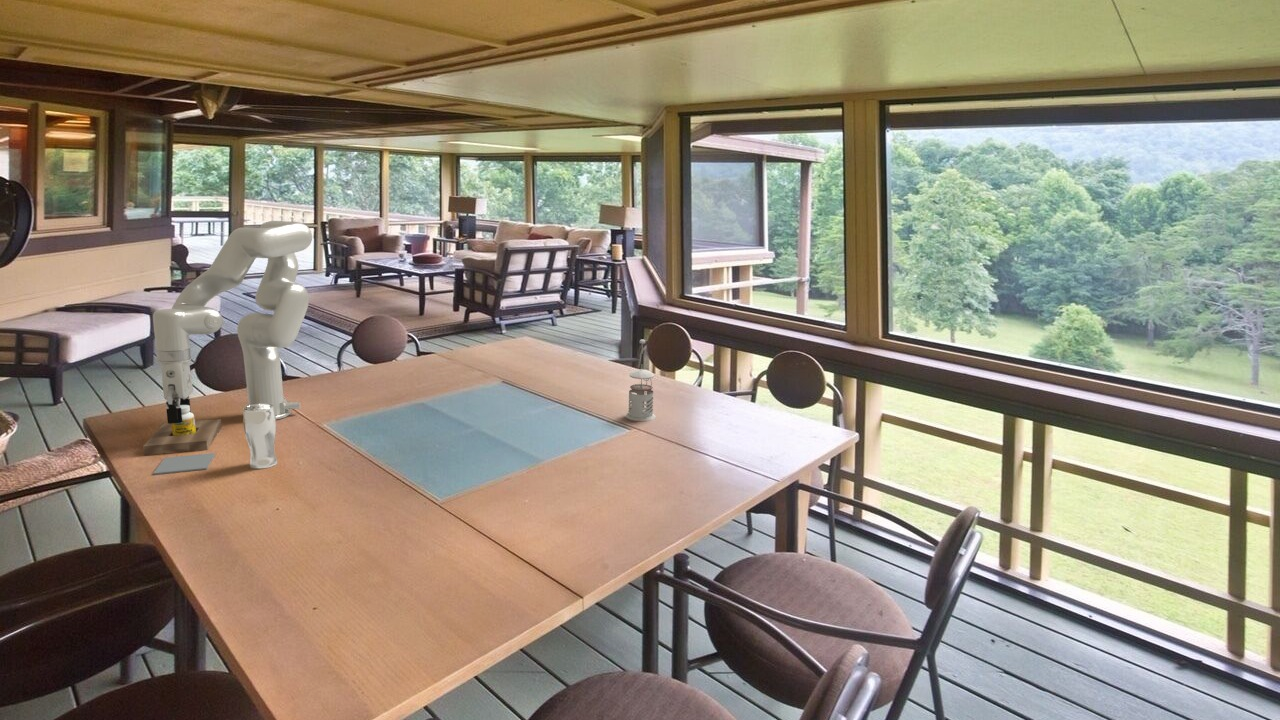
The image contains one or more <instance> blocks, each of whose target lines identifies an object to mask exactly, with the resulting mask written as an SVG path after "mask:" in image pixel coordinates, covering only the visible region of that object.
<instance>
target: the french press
mask: <svg viewBox="0 0 1280 720" xmlns="http://www.w3.org/2000/svg"><path fill="white" fill-rule="evenodd" d="M639 344H641V353H643V352H644V351H643V349H644V348H643V345H644V344H646V340H645V339H640V340H639ZM628 376H629V378H632V379H638V380H640V383H637V384H632V385H630V386H629V388H630V389H629V390H628V412H627V413H626V414H625V418H626V419H628V420H631V421H635V422H648V421H653V420H655V419H656V418H657V416H656V415H655V414H654V391H653V390H652V389H653V382H652V379H653V378H654V377H655V376H656V375H655V374H654V373H653V372H651V371H650V370H648V369H643V365H641V367H640V369H636V370H633V371H630V372H629V373H628ZM649 379H650V384H648V381H649ZM643 380H644V381H645V382H646V383H645V384H643V383H642V382H643Z"/></svg>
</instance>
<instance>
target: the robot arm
mask: <svg viewBox="0 0 1280 720" xmlns="http://www.w3.org/2000/svg"><path fill="white" fill-rule="evenodd" d="M312 242H313V234H312V230H311V229H310V228H309V226H308V225H306V224H305V223H303V222H300V221H289V220H288V221H287V220H270V221H269V220H268V221H266V222H263V223H262V224H261V225H260V227H238V228H236V229H234V230H233V231H232V232H231V233H230V234H229V236H228V237H227V240H226V241H225V242H224V244H223V245H222V247H221V249H220V250H219V252H218V253H217V256H216V257H215V259H214V260H213V262H212V263H211V265H210V267H209V268H208V269H207V270H206V271H204V272H203V273H201V274H200V275H199V276H197V277H196V278H195V279H193V280H192V281H191V282H190V283H189V284H187V285H186V287H184V288H183V290H182V291H181V292H180V294H179V295H178V297H177V298H176V300H175V301H174V303H173V305H172V307H171V308H161V309H158V310H155V311H154V312H153V314H152V321H153V332H154V333H153V334H154V341H155V342H154V343H155V352H156V353H155V354H156V361H157V364H161V381H162V383H161V384H162V391H163V398H164V399H165V400H166V402H165V405H166V406H165V409H166V420H167V423H169V424H172V423H181V422H182V411H181V408H180V405H189V406H190V411H189V412H191V411H192V410H191V399H190V395H191V394H192V393H193V391H194V386H193V381H192V379H193V378H192V373H191V367H190V362H191V361H192V354H191V344H190V343H191V342H190V341H191V340H190V335H210V334H214V333H216V332H218V331H219V330H220V329H221V328H222V326H223V323H224V319H223V316H222V314H221V313H220V312H219V311H218V310H217V309H215V308H212V307H209V306H206V305H207V303H209V301H211V300H212V299H214V298H215V297H216V296H217V295H219V294H222V293H225V292H228V291H229V290H233V289H234V288H237V287H238V286H240V285H241V284H242V282H243V281H244V279H245V277H246V275H247V274H248V272H249V270H250V269H251V267H252V265H253V264H254V262H255V260H256V259H267V264H266V267H265V270H264V273H263V275H262V279H261V280H260V283H259V285H258V288H257V290H256V293H255V296H254V297H255V304H256V305H257V306H258V308H260V309H262V310H264V311H267V312H272V313H273V314H271V313H270V314H269V313H260V312H252V313H248V314H245V315H244V316H243V317H242V318H241V319H240V320H239V321H238V324H237V329H236V330H237V331H236V332H237V337H238V340H239V343H240V347H241V350H242V355H243V362H244V364H243V365H244V373H245V374H244V375H245V383H246V392H247V400H248V401H247V402H248V403H247V404H248V405H253V404H261V403H267V404H272V405H273V409H274V414H275V421H277V420H280V419H284V418H287V417H289V416H290V415H291V410H292V409H293V410H300V409H301V402H297V401H287V398H286V397H284V391H283V390H284V389H283V378H282V367H281V365H282V364H281V363H282V362H281V358H280V353H279V351H278V349H285V348H288V347H290V346H291V345H292V344H293V343H294V342H295V341H296V338H297V337H298V335H299V332H300V329H301V326H302V323H303V322H304V320H305V319H304V318H305V316H306V314H307V312H308V308H309V302H310V301H309V300H310V297H309V293H308V290H307V288H306V287H305V286H303V284H301V283H300V282H296V279H297V276H298V273H299V262H298V259H297V256H296V254H295V253H299V252H302V251H304V250H306V249H308V248H309V246H311V243H312ZM191 413H192V412H191Z"/></svg>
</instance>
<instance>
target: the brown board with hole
mask: <svg viewBox="0 0 1280 720" xmlns="http://www.w3.org/2000/svg"><path fill="white" fill-rule="evenodd" d="M195 427H196V433H195V434H189V435H177V436H173V433H172V425H171V424H169V423H168V422H163V423H162V425H160V427H158V429H157V430H156V431H154V434H152V436H151V437H150V438H149V439H148V440H147V441H146V442H145V443H144V444H143V454H144V456H151V455H150V454H155V455H164V454H163V453H166V454H174V453H175V452H178V453H185V451H189V452H196V451H195V450H200V451H208V450H209V448H210V446H211V445H212V443H213V442H214V440H215V439H214V438H216V437H217V435H218V434H217V433H219V432H220V431H219V430H221V429H222V419H221V418H216V419H203V420H195Z"/></svg>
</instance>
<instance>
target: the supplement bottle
mask: <svg viewBox="0 0 1280 720" xmlns="http://www.w3.org/2000/svg"><path fill="white" fill-rule="evenodd" d="M180 408H181V411H182V422H181V423H172V424H171V425H172V433H173V436H177V435H189V434H195V433H196V427H195V421H196V420H195V414H194V413H193V412H189V411H190V408H191V405H190V406H189V405H180Z"/></svg>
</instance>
